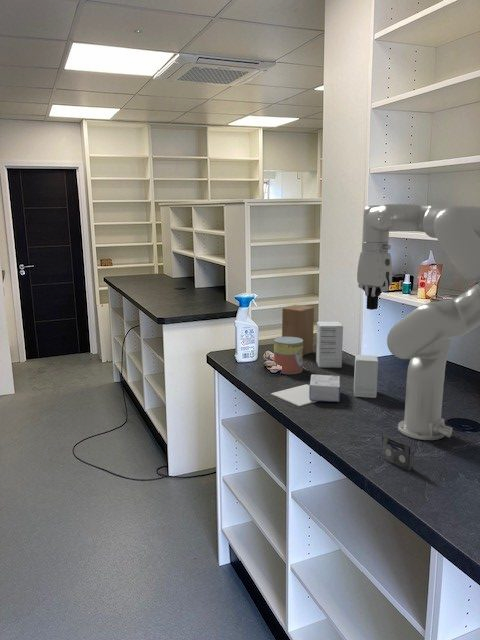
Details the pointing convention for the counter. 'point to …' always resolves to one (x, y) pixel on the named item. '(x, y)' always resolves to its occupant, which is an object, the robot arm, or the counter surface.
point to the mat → (295, 395)
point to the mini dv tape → (397, 452)
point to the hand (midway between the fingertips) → (372, 308)
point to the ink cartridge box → (324, 388)
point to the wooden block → (299, 325)
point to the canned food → (289, 354)
